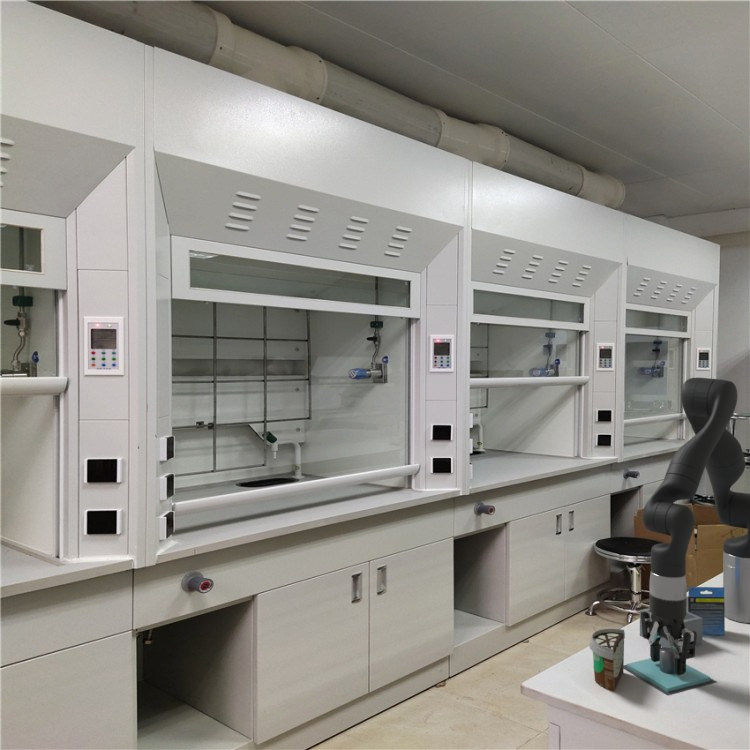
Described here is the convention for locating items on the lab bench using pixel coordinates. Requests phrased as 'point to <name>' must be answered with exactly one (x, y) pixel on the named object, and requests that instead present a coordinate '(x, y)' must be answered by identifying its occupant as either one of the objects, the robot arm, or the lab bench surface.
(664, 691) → the mat
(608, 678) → the food container
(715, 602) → the label tape cartridge
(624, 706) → the lab bench surface
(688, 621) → the tub
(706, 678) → the lid
